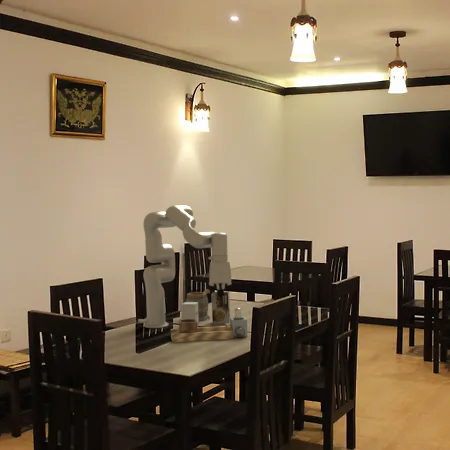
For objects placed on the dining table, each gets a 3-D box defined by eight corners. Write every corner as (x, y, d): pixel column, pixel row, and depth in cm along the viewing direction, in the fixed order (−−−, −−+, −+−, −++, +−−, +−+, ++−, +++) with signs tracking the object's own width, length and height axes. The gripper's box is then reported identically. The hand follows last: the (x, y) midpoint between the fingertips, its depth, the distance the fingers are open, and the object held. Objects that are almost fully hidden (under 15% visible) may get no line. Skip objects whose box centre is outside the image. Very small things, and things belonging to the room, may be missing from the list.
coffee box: (230, 321, 369) (229, 291, 368) (229, 323, 362) (228, 292, 362) (213, 321, 369) (212, 291, 369) (212, 324, 363) (211, 293, 362)
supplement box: (195, 329, 350) (194, 304, 350) (181, 328, 352) (180, 304, 351) (199, 326, 358) (198, 301, 357) (185, 326, 359) (184, 301, 359)
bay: (172, 342, 320) (171, 330, 320) (170, 336, 333) (170, 325, 333) (232, 338, 324) (232, 327, 323) (228, 333, 337) (228, 322, 336)
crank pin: (235, 325, 329) (235, 308, 328) (234, 324, 332) (234, 307, 332) (242, 325, 329) (241, 308, 329) (241, 324, 332) (240, 307, 332)
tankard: (200, 321, 371) (199, 293, 370) (181, 320, 377) (180, 292, 377) (220, 315, 388) (219, 288, 387) (201, 314, 394) (200, 288, 394)
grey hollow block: (233, 338, 324) (233, 321, 323) (230, 334, 334) (230, 317, 333) (248, 337, 325) (247, 320, 324) (245, 333, 335) (244, 317, 334)
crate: (180, 338, 322) (180, 323, 322) (179, 334, 332) (178, 319, 331) (197, 337, 323) (197, 322, 323) (196, 333, 333) (195, 318, 332)
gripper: (204, 260, 323) (205, 299, 324) (236, 258, 326) (237, 297, 326) (202, 258, 331) (203, 297, 332) (234, 257, 333) (234, 295, 334)
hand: (220, 297), depth 329 cm, fingers closed
